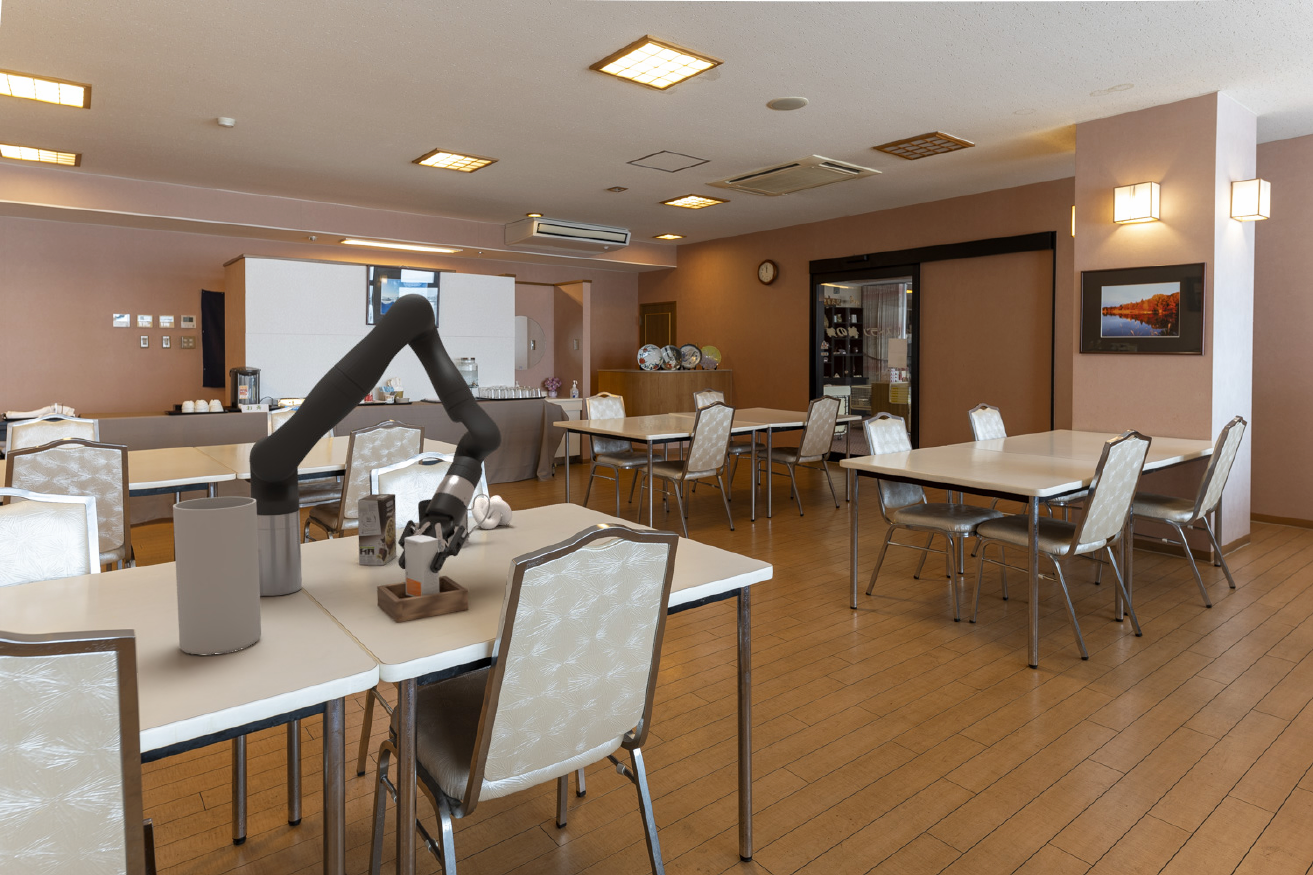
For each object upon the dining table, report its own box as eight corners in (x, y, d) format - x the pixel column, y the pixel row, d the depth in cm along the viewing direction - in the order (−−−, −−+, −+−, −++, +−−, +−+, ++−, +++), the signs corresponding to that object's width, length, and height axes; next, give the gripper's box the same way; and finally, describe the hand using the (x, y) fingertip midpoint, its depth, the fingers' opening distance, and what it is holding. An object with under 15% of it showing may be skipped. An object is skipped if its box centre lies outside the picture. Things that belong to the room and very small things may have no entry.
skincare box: (404, 595, 160) (403, 537, 158) (423, 590, 163) (421, 533, 162) (422, 601, 156) (420, 542, 154) (440, 596, 159) (439, 538, 158)
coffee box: (384, 565, 191) (383, 499, 189) (358, 565, 191) (356, 499, 189) (397, 556, 200) (396, 493, 198) (372, 555, 200) (371, 493, 198)
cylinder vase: (273, 631, 144) (268, 496, 142) (240, 657, 132) (234, 510, 130) (204, 631, 144) (198, 496, 142) (164, 657, 132) (156, 509, 129)
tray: (396, 622, 150) (395, 601, 150) (377, 605, 160) (377, 586, 160) (468, 609, 158) (468, 590, 158) (446, 593, 169) (446, 575, 168)
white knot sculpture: (517, 523, 241) (517, 494, 240) (505, 531, 229) (505, 501, 229) (482, 522, 243) (482, 493, 242) (468, 530, 231) (467, 500, 230)
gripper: (414, 488, 167) (378, 555, 157) (472, 493, 162) (439, 563, 152) (430, 508, 172) (396, 575, 162) (487, 514, 167) (456, 582, 158)
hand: (417, 569), depth 157 cm, fingers closed on skincare box, 7 cm apart
